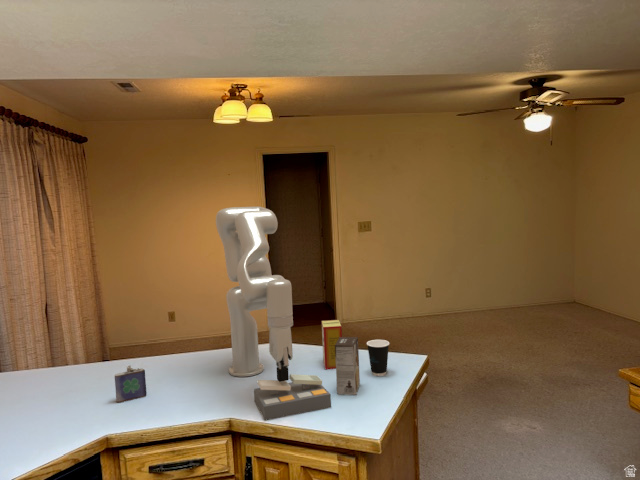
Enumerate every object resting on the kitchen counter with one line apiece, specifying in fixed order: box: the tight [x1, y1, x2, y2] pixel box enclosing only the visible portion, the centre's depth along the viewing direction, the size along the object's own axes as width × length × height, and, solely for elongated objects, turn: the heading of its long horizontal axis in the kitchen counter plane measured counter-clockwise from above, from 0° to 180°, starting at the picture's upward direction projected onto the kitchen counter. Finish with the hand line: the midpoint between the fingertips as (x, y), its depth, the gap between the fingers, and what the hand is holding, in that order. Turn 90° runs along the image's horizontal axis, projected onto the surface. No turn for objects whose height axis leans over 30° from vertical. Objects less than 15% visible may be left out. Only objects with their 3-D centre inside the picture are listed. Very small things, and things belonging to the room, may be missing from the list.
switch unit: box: [253, 381, 332, 421], centre depth 142 cm, size 14×20×5 cm
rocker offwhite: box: [256, 379, 291, 390], centre depth 141 cm, size 5×9×1 cm, turn 110°
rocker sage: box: [289, 373, 323, 386], centre depth 145 cm, size 5×9×1 cm, turn 110°
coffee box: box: [335, 336, 361, 396], centre depth 151 cm, size 9×6×16 cm
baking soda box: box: [321, 319, 343, 370], centre depth 175 cm, size 10×6×16 cm
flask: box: [114, 365, 148, 403], centre depth 152 cm, size 9×3×11 cm, turn 121°
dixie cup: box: [366, 339, 391, 377], centre depth 164 cm, size 8×8×11 cm
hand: (282, 379), depth 143 cm, fingers closed
